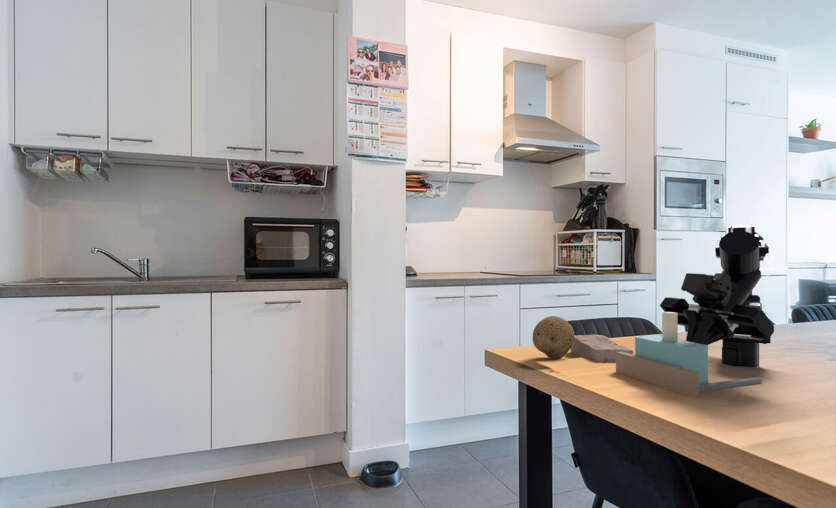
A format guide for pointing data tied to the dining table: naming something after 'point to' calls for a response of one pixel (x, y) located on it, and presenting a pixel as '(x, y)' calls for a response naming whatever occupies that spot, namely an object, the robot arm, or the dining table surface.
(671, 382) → the track
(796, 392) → the dining table surface
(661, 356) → the dowel block
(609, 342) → the brick
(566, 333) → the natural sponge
